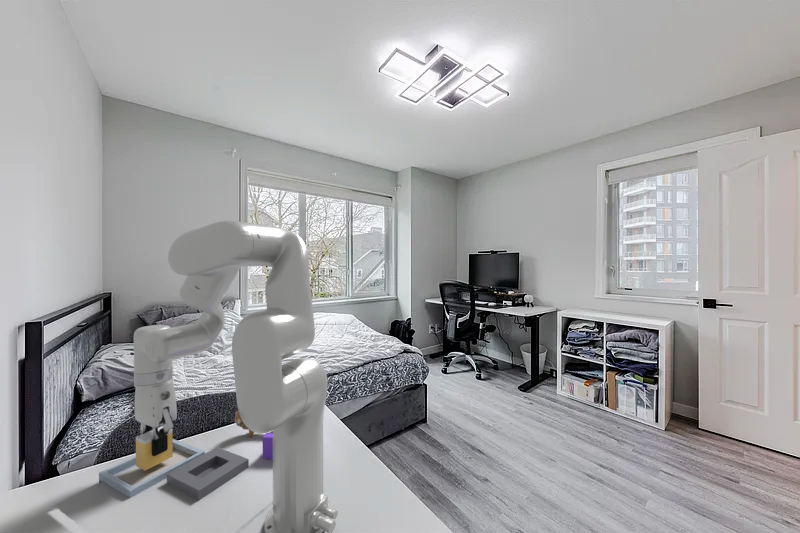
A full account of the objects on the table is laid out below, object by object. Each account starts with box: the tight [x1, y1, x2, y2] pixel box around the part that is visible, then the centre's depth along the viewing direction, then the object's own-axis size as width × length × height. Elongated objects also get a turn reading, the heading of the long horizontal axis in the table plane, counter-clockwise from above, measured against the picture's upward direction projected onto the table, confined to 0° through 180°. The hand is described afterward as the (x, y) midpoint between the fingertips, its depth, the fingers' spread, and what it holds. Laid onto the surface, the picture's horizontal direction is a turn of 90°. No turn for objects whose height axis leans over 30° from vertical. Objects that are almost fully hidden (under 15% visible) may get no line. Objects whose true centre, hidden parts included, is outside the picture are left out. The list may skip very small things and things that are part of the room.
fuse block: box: [166, 446, 250, 501], centre depth 75 cm, size 12×12×3 cm
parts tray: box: [98, 438, 206, 499], centre depth 78 cm, size 14×16×2 cm
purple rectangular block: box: [262, 432, 273, 460], centre depth 87 cm, size 12×7×7 cm, turn 176°
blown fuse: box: [135, 426, 174, 471], centre depth 78 cm, size 4×6×7 cm, turn 154°
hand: (154, 449), depth 78 cm, fingers closed on blown fuse, 3 cm apart
